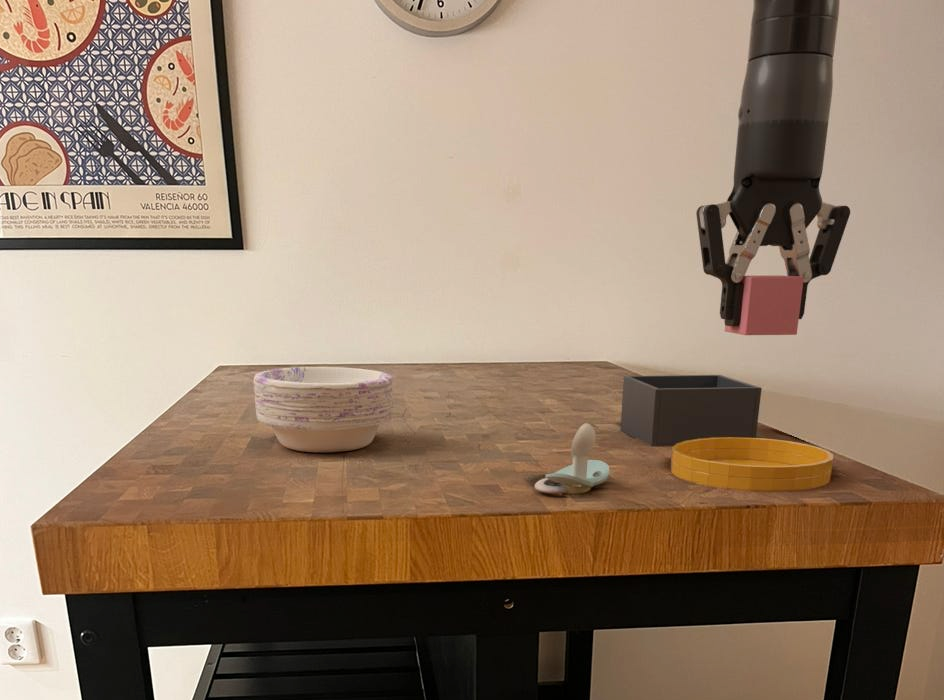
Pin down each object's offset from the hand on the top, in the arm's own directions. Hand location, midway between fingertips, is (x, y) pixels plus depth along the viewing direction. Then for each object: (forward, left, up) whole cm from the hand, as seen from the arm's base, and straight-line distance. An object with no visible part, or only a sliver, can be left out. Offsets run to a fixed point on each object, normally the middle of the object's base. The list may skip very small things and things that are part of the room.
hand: (760, 324), depth 90 cm
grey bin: (-1, -20, -14) cm, 24 cm away
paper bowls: (+41, -20, -14) cm, 48 cm away
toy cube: (0, 0, -1) cm, 1 cm away
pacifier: (+19, +5, -14) cm, 24 cm away
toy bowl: (0, +1, -14) cm, 14 cm away
